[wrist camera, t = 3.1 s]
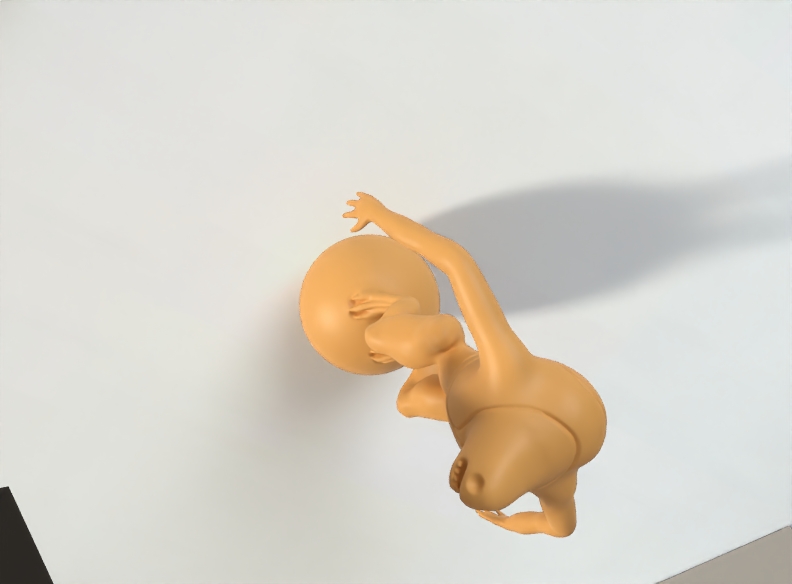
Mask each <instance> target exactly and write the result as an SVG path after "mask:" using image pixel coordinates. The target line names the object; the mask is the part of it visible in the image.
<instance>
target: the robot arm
mask: <svg viewBox="0 0 792 584" xmlns="http://www.w3.org/2000/svg"><path fill="white" fill-rule="evenodd" d="M0 584H53V582H52V579H51V577H50V575H49V573H48V571H47V569H46V566H45V564H44V562H43V560H42V558H41V556H40V554H39V551H38V549H37V547H36V545H35V543H34V541H33V538H32V536H31V534H30V532H29V530H28V528H27V525H26V523H25V521H24V519H23V517H22V515H21V512H20V510H19V508H18V506H17V504H16V502H15V499H14V497H13V495H12V493H11V491H10V489H9V486H8V487H3V488H0Z"/></svg>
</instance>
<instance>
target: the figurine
mask: <svg viewBox="0 0 792 584" xmlns="http://www.w3.org/2000/svg"><path fill="white" fill-rule="evenodd" d="M356 194H357V195H358V196H359V197H360V199H359V200H349V201H347V204H348V205H351V206H354V207H355V210H353V211H351V212H347V213H345V214H343V215H342V216H343V217H344V218H358V223H357V224H356V225H355V226H354V227H353V228H352V229H351V232H357V231H359V230H361V229H362V228H364V227H365V226H366V225H367V224H368V223H370V222H374V223H375V224H376V225H377V226H379V227H380V228H381V229H382V230H383V231H384V232H385V233H386V234H387V235H389V236H390V237H391V238H390V237H386V236H381V235H359V236H354V237H350V238H347V239H344V240H342V241H339V242H337V243H336V244H334V245H332V246H331V247H329V248H328V249H327V250H325V251H324V252H323V253H322V254H321V255H320V256H319V257H318V258H317V259H316V260H315V261H314V263H313V264H312V266H311V267H310V269H309V270H308V272H307V274H306V276H305V279H304V281H303V284H302V288H301V293H300V302H299V307H300V317H301V322H302V325H303V328H304V331H305V333H306V336H307V338H308V339H309V341H310V343H311V344H312V346H313V347H314V348H315V350H316V351H317V352H318V353H319V354H320V355H321V356H322V357H323V358H324V359H326V360H327V361H328V362H330V363H331V364H333V365H334V366H336V367H338V368H340V369H342V370H345V371H347V372H351V373H355V374H360V375H379V374H385V373H389V372H392V371H395V370H397V369H399V368H402V367H403V366H405V367H407V368H411V369H413V371H412V373H411V375H410V376H409V378H408V379H407V381H406V382H405V383H404V385H403V386H402V388H401V390H400V392H399V395H398V398H397V409H398V410H399V412H400V413H401V414H402V415H404V416H405V417H409V418H411V417H423V418H429V419H434V420H439V421H446V422H449V424H450V427H451V429H452V432H453V434H454V437H455V439H456V441H457V443H458V445H459V447H460V449H461V451H460V453H459V454H458V456H457V458H456V459H455V461H454V463H453V465H452V467H451V470H450V476H449V484H450V487H451V488H452V489H453V490H454V491H455V492H457V493H460V499H461V501H462V502H463V503H464V504H465V505H466V506H468V507H470V508H472V509H475V510H476V512H477V513H478V514H479V516H480V517H482V518H484V519H486V520H488V521H490V522H492V523H494V524H495V525H498V526H500V527H502V528H505V529H507V530H510V531H515V532H517V533H520V534H535V533H545V534H548V535H551V536H554V537H567V536H569V535H571V534H572V533H573V531H574V530H575V527H576V509H575V500H574V493H575V490H576V485H577V471H578V469H579V468H580V467H581V466H583V465H585V464H587V463H588V462H590V461H591V460H592V459H593V458H594V457H595V456H596V455H597V454H598V452H599V451H600V449H601V447H602V445H603V442H604V439H605V435H606V425H607V417H606V411H605V407H604V404H603V402H602V400H601V398H600V396H599V394H598V393H597V391H596V390H595V389H594V387H593V386H592V385H591V384H590V383H589V381H588V380H587V379H585V378H584V377H583V376H582V375H581V374H579V373H578V372H576V371H575V370H573V369H572V368H570V367H568V366H566V365H564V364H561V363H559V362H556V361H552V360H549V359H546V358H541V357H536V356H533V355H532V354H531V353H530V352H529V351H528V349H527V348H526V347H525V345H524V344H523V343H522V342H521V340H520V339H519V338H518V337H517V336H516V334H515V333H514V332H513V330H512V329H511V328H510V326H509V324H508V322H507V320H506V318H505V316H504V314H503V312H502V310H501V308H500V306H499V304H498V302H497V300H496V298H495V296H494V295H493V293H492V291H491V289H490V287H489V285H488V283H487V282H486V280H485V278H484V276H483V274H482V273H481V271H480V269H479V268H478V266H477V264H476V263H475V261H474V260H473V258H472V257H471V255H470V254H469V253H468V252H467V251H466V250H465V249H464V248H463V247H461V246H460V245H459V244H457V243H456V242H454V241H452V240H450V239H448V238H446V237H443V236H440V235H438V234H436V233H434V232H432V231H430V230H429V229H427V228H426V227H424V226H422V225H420V224H418V223H416V222H414V221H413V220H411V219H409V218H407V217H405V216H403V215H400V214H397V213H394V212H392V211H390V210H389V209H387V208H386V207H385V206H384V205H383V204H382V203H381V202H379V201H378V200H377V199H376V198H374V197H373V196H371V195H369V194H366V193H363V192H357V193H356ZM418 253H419V254H420V255H422V256H423V257H424V258H426V259H427V260H428V261H429V262H430V263H432V264H433V265H435V266H436V267H437V268H439V269H440V270H441V271H443V272H444V273H445V274H446V275H447V276H448V277H449V280H450V282H451V285H452V288H453V291H454V294H455V297H456V299H457V302H458V304H459V307H460V309H461V312H462V314H463V317H464V319H465V322H466V324H467V326H468V328H469V330H470V332H471V334H472V336H473V338H474V340H475V343H476V345H477V348H478V351H476V350H474V349H472V348H471V347H469V346H468V345H467V344H466V343H465V335H464V331H463V328H462V326H461V324H460V322H459V321H458V320H457V319H456V318H455V317H453V316H451V315H448V314H439V313H440V297H439V291H438V286H437V283H436V280H435V278H434V275H433V273H432V271H431V270H430V268H429V266H428V265H427V263H426V262H425V261H424V260H423V258H422V257H421V256H420V255H419V254H418ZM527 492H531V493H533V494H535V495H536V496H537V497H538V498H539V501H540V504H541V507H542V510H543V512H534V511H529V512H520V513H516V514H514V515H512V516H510V517H509V516H506V515H504V514H503V513H502V512H500V511H499V510H501V509H503V508H505V507H507V506H509V505H510V504H511V503H513V502H514V501H515V500H517V499H518V498H519V497H521V496H522V495H524V494H525V493H527ZM480 510H484V512H483V511H480ZM490 511H496V512H497V514H498V515H496V514H495V513H493V512H490Z"/></svg>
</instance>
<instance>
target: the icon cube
mask: <svg viewBox="0 0 792 584" xmlns="http://www.w3.org/2000/svg"><path fill="white" fill-rule="evenodd" d="M658 584H792V528H791V527H790V526H788V527H785V528H783V529H781V530H779V531H776V532H774V533H772V534H769V535H767V536H765V537H763V538H760V539H758V540H756V541H753V542H751V543H749V544H747V545H744V546H742V547H740V548H738V549H735V550H733V551H731V552H728V553H726V554H724V555H722V556H719V557H717V558H715V559H712V560H710V561H708V562H706V563H703V564H701V565H699V566H696V567H694V568H692V569H690V570H687V571H685V572H683V573H680V574H678V575H676V576H674V577H671V578H669V579H667V580H664V581H662V582H660V583H658Z"/></svg>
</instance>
